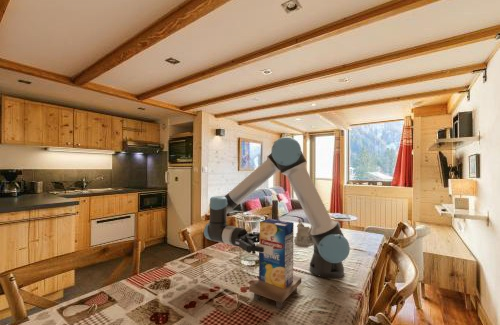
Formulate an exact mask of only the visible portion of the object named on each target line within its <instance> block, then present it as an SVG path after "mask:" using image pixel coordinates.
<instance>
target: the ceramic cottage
mask: <svg viewBox="0 0 500 325" xmlns="http://www.w3.org/2000/svg"><path fill="white" fill-rule="evenodd" d="M297 222H298V223H297V225H296V228H297V232H296V234H295V237H294V238H293V242H294V244H295V245H297V246H300V247H301V246H302V247H310V246H314V239H313V237H312V235H311V233H310V232H311V229H312V227H311V226H305V224H303V223H302V221H301V218H299V217H298V221H297Z"/></svg>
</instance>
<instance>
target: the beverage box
mask: <svg viewBox="0 0 500 325" xmlns="http://www.w3.org/2000/svg"><path fill="white" fill-rule="evenodd" d="M294 228H295V227H294V222H292V221H288V220H287V221H286V220H278V219H273V218H267V219H265V220H261V221H259V232H260V237H259V243H258V244H262V245H266V246H271V247H273V255H268V254H264V253H260V252H258V253H259V254H258V255H259V257H258V258H259V259H258V260H259V262H258V266H259V267H258V279H259V280H261V281H263V282H266V283H269V284H272V285H275V286H278V287H281V288H284V289H285V288H286V287H287V286H288V285H289V284H291V283H292V282H293V275H294Z"/></svg>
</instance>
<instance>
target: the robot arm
mask: <svg viewBox="0 0 500 325" xmlns="http://www.w3.org/2000/svg"><path fill="white" fill-rule="evenodd" d="M306 165H307V160H306V158H305V156H304V152H303V151H302V148H301V145H300V143H299V142H298V140H296V139H295V138H293V137H291V136H283V137H280V138H278V139H277V140H275V141H274V143H273V144H272V147H271V152H270V153H269V154H267V156H266V159H265V161H263V162H262V163H261V164H260V165H259V166H258V167H256V169H254V170H253V171H252V172H251V173H250V174H249V175H247V176H246V177H245V178H244V179H242V181H241V182H239V183H238V184H237V185H235V187H234V188H232V189H231V190H230V191H229V192H228V193H227V194H225V195H224V196H219V195H218V196H217V195H215V196H212V197H210V200H209V206H208V207H209V222H208V223H206V225H205V226H204V229H203V236H204V238H206V239H207V240H210V241H213V242H216V243H217V242H218V243H222V244H226V245H228V246H235V247H238V248H240V249H241V250H244V251H245V252H247V253H248V254H251V253H252V255H255V254H256V253H259V252H260V253H264V254H268V255H273V247H271V246H266V245H262V244H259V237H260V231H259V232H257V231H253V232H248V230H247V229H246V228H244V227H239V226H238V227H237V226H233V225H227V222H228V219H227V217H228V216H227V215H228V214H229V213H230V212H232V211H234V209H235V208H236V207H237V206H239V205H240V204H241V203H242V202H243V201H244V200H245V199H247V198H248V197H249V196H251V194H253V193H254V192H255V191H256V190H257V189H259V187H261V186H263V184H264V183H266V182H267V180H269V179H270V178H271V177H273V176H274V175H275V174H276V173H278V172H280V174H281V175H284V176H285V177H286V178H287V180H288V182H289V184H290V186H291V187H292V190H293V192H294V194H295V196H296V198H297V201H298V203H299V204H300V206H301V208H302V211H303V212H304V215H305V216H306V219H307V220H308V223H309V224H310V228H311V227H312V229H311V232H310V233H311V235H312V237H313V239H314V245H313V254H312V256H311V259H310V262H309V271H310V272H311V273H312V274H314V275H316V276H319V277H323V278H326V279H327V278H328V279H336V278H338V279H339V278H340V277H343V276H344V275H345V267H344V264H343V261H345V260H346V259H347V258H348V256H349V254H350V252H351V250H350V244H349V241H348V239H347V238H346V237H345V236H344V233H343V231H342V230H341V223H340V222H339V221H336V220H334V219H332V218H331V216H330V214H329V212H328V210H327V208H326V206H325V204H324V202H323V200H322V198H321V196H320V193H319V192H318V189H317V188H316V186H315V184H314V182H313V180H312V178H311V176H310V173H309V172H308V170H307V168H306Z"/></svg>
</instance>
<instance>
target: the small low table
mask: <svg viewBox="0 0 500 325" xmlns="http://www.w3.org/2000/svg"><path fill="white" fill-rule="evenodd" d="M301 284H302V277H301V276H297V275H294V274H293V282H292V283H291V284H289V285H288V286H287V287H286V288H285V289H284V288H281V287H278V286H275V285H272V284H269V283H266V282H263V281H261V280H259V278H258V279H257V280H255V281H254V282H252V283H251V284H249V287H248V289H249V291H248V292H250V293H253V299H254V301H260V298H261V297H260V296H262V297H264V298H267V299H269V300H273V301H275V304H276V307H275V308H276V309H279V310H281V309H283V303H284V301H285V300H287V298H288V297H290V295H291V294H292V293H297V292H298V287H299V286H300V285H301Z"/></svg>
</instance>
